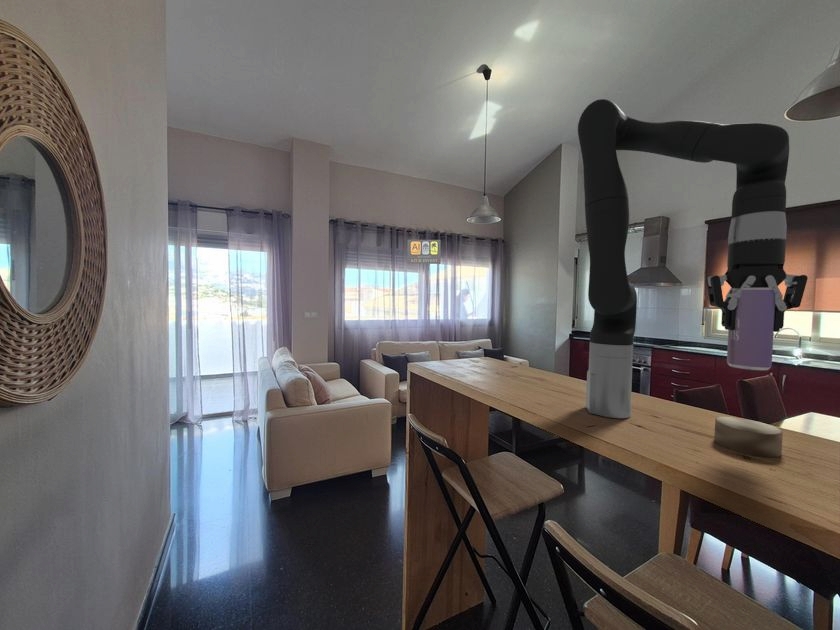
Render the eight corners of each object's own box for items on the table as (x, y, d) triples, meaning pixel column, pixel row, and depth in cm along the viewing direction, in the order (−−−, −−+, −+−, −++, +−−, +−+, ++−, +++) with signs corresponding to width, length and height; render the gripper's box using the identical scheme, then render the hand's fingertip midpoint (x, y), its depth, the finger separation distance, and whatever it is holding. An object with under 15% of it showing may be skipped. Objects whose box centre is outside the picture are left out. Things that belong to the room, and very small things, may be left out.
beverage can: (781, 371, 58) (786, 287, 58) (741, 369, 59) (746, 287, 59) (754, 365, 64) (758, 289, 63) (718, 363, 65) (722, 288, 65)
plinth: (729, 452, 59) (730, 429, 59) (705, 434, 68) (706, 414, 68) (795, 461, 56) (796, 437, 56) (761, 441, 65) (762, 420, 64)
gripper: (718, 238, 60) (713, 330, 60) (825, 234, 55) (819, 334, 55) (699, 246, 67) (695, 327, 67) (792, 242, 62) (787, 331, 62)
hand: (751, 330), depth 61 cm, fingers closed on beverage can, 5 cm apart
